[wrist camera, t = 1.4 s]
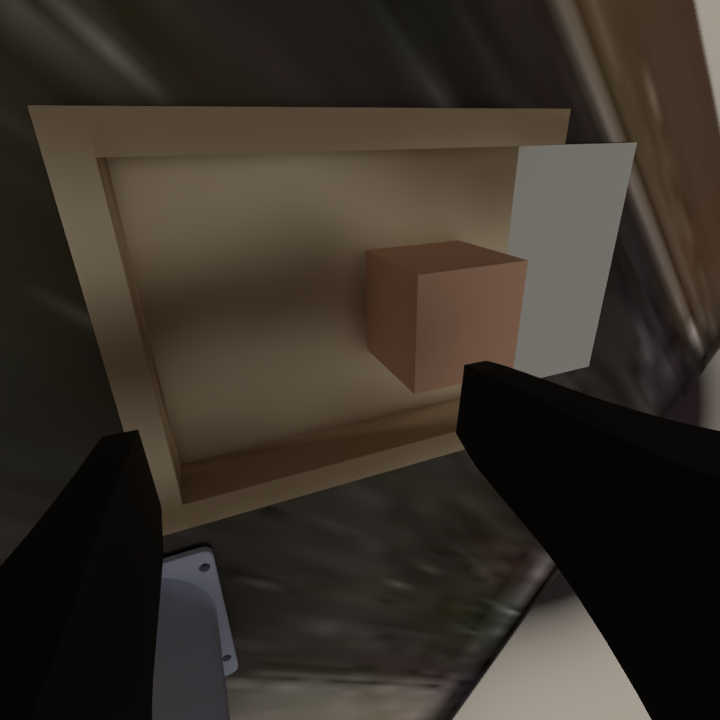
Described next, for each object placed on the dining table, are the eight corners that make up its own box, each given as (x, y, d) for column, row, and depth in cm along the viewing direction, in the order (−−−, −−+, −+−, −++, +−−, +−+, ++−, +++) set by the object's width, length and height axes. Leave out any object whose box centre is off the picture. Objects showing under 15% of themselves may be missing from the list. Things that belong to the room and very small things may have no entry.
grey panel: (583, 363, 27) (588, 366, 27) (486, 386, 25) (491, 389, 24) (629, 142, 22) (636, 142, 22) (512, 146, 20) (519, 145, 19)
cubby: (484, 405, 25) (520, 433, 23) (156, 488, 20) (155, 538, 17) (516, 114, 19) (570, 109, 17) (52, 114, 14) (27, 105, 11)
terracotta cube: (452, 333, 22) (513, 371, 18) (367, 349, 20) (414, 394, 17) (458, 240, 20) (528, 260, 16) (365, 250, 19) (418, 274, 15)
